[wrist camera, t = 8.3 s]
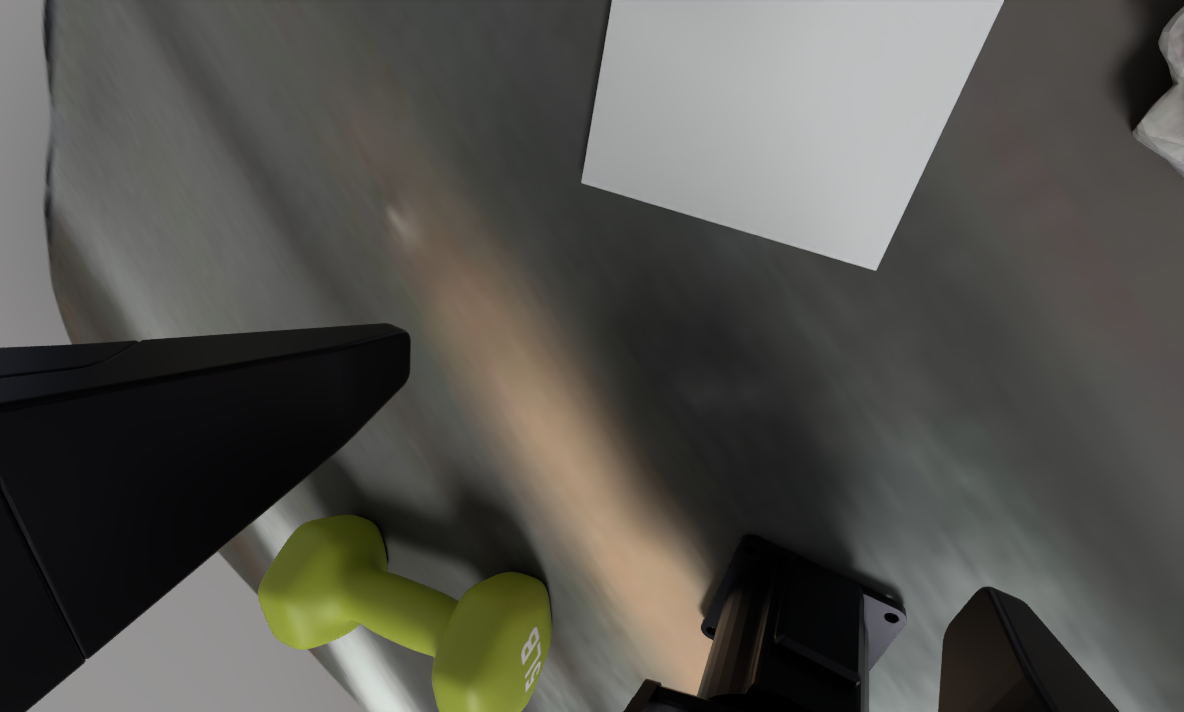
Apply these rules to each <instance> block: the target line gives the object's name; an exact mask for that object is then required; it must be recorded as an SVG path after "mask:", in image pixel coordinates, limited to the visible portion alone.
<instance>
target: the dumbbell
mask: <svg viewBox="0 0 1184 712" xmlns="http://www.w3.org/2000/svg"><path fill="white" fill-rule="evenodd" d="M387 569H388V565H387V556H386V551H385V546H384V543H383V539H382V537H381V534H380V531H379V529H378V528H377V526H376V525H375V524H374V523H373V522H371V521H370V520H367V519H365V518H362V517H359V516H356V515H338V516H331V517H326V518H321V519H316V520H312V521H309V522H306V523H304V524H303V525H301V526H299V527H298V528H297V529H296V530H295V531H294V533H293V534H292V535H291V536H290V537H289V539H288V540H287V542H286V543H285V544H284V546H283V547H282V549H281V550H280V552H279V553H278V555H277V556H276V558H275V559H274V561H273V562H272V564H271V565H270V567H269V569H268V570H267V572H266V573H265V575H264V577H263V579H262V581H261V583H260V586H259V589H258V598H259V602H260V605H261V609H262V611H263V613H264V616H265V618H266V621H267V623H268V625H269V627H270V629H271V631H272V633H273V635H274V636H275V637H276V638H277V639H278V640H279V641H280V642H282V643H284V644H286V645H288V646H290V647H292V648H294V649H302V650H303V649H309V648H314V647H317V646H320V645H323V644H326V643H329V642H331V641H333V640H336V639H338V638H340V637H342V636H344V635H346V634H347V633H349V632H351V631H352V630H354V629H355V628H356V627H357V626H358V625H359V624H362V625H363V626H365V627H367V628H368V629H370V630H371V631H373V632H375V633H377V634H379V635H381V636H383V637H385V638H387V639H389V640H391V641H394V642H396V643H398V644H400V645H403V646H405V647H407V648H410V649H412V650H415V651H418V652H421V653H424V654H428V655H431V656H433V657H435V659H434V663H433V669H432V684H433V690H434V695H435V699H436V703H437V706H438V710H439V712H521V711H522V710H523V709H524V707H525V706H526V704H527V703H528V701H529V699H530V697H531V695H532V693H533V691H534V689H535V686H536V684H537V681H538V678H539V676H540V673H541V670H542V668H543V665H544V662H545V659H546V656H547V653H548V650H549V646H550V642H551V636H552V621H551V612H550V602H549V596H548V592H547V590H546V587H545V586H544V584H543V583H542V582H541V581H540V580H538V579H536V578H534V577H531V576H528V575H525V574H522V573H518V572H504V573H501V574H498V575H495V576H493V577H490V578H488V579H486V580H484V581H482V582H480V583H478V584H476V585H474V586H473V587H471V588H470V589H468V590H467V591H466V592H465V594H464V595H463V596H462V598H461V599H460V601H458V600H456V599H454V598H452V597H450V596H448V595H447V594H445V593H442V592H440V591H437V590H435V589H432V588H430V587H428V586H425V585H423V584H420V583H418V582H415V581H413V580H410V579H407V578H404V577H402V576H399V575H396V574H393V573H389V572H387Z"/></svg>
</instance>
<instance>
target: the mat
mask: <svg viewBox="0 0 1184 712" xmlns="http://www.w3.org/2000/svg"><path fill="white" fill-rule="evenodd" d="M1003 2H1004V0H612V4H611V10H610V16H609V22H608V28H607V34H606V40H605V46H604V52H603V58H602V63H601V69H600V75H599V81H598V87H597V93H596V99H595V105H594V111H593V117H592V123H591V129H590V134H589V140H588V146H587V152H586V158H585V164H584V170H583V176H582V182H581V183H583V184H586V185H590V186H593V187H596V188H600V189H603V190H606V191H610V192H613V193H617V194H620V195H623V196H627V197H630V198H633V199H637V200H640V201H643V202H647V203H650V204H653V205H657V206H660V207H663V208H667V209H670V210H674V211H677V212H680V213H684V214H687V215H690V216H694V217H697V218H700V219H704V220H707V221H710V222H714V223H717V224H721V225H724V226H727V227H731V228H734V229H737V230H741V231H744V232H747V233H751V234H754V235H757V236H761V237H764V238H768V239H771V240H774V241H778V242H781V243H784V244H788V245H791V246H794V247H798V248H801V249H804V250H808V251H811V252H815V253H818V254H821V255H825V256H828V257H831V258H835V259H838V260H841V261H845V262H848V263H851V264H855V265H858V266H861V267H865V268H868V269H872V270H875V271H876V270H877V267H878V265H879V263H880V261H881V259H882V257H883V255H884V253H885V251H886V248H887V246H888V244H889V242H890V240H891V238H892V236H893V234H894V232H895V230H896V227H897V225H898V223H899V221H900V219H901V217H902V215H903V213H904V211H905V208H906V206H907V204H908V202H909V200H910V198H911V196H912V194H913V192H914V189H915V187H916V185H917V183H918V181H919V179H920V177H921V175H922V173H923V170H924V168H925V166H926V164H927V162H928V160H929V158H930V156H931V154H932V151H933V149H934V147H935V145H936V143H937V141H938V139H939V137H940V135H941V132H942V130H943V128H944V126H945V124H946V122H947V120H948V118H949V116H950V113H951V111H952V109H953V107H954V105H955V103H956V101H957V99H958V97H959V95H960V92H961V90H962V88H963V86H964V84H965V82H966V80H967V78H968V76H969V73H970V71H971V69H972V67H973V65H974V63H975V61H976V59H977V57H978V54H979V52H980V50H981V48H982V46H983V44H984V42H985V40H986V38H987V35H988V33H989V31H990V29H991V27H992V25H993V23H994V21H995V19H996V16H997V14H998V12H999V10H1000V8H1001V6H1002V4H1003Z"/></svg>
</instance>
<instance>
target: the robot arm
mask: <svg viewBox="0 0 1184 712" xmlns="http://www.w3.org/2000/svg"><path fill="white" fill-rule="evenodd" d="M410 354H411V339H410V336H409V333H408V332H407V331H405V330H403V329H401V328H399V327H396V326H394V325H392V324H388V323H380V324H366V325H351V326H337V327H323V328H308V329H294V330H280V331H265V332H251V333H236V334H222V335H208V336H193V337H179V338H165V339H150V340H142V341H140V342H138V341H120V342H106V343H89V344H72V345H55V346H31V347H8V348H0V712H26V711H27V710H29V709H30V708H31V707H32V706H33V705H35V704H36V703H37V702H38V701H39V700H41V699H42V698H43V697H44V696H45V695H47V694H48V693H49V692H50V691H51V690H52V689H54V688H55V687H56V686H57V685H59V684H60V683H61V682H62V681H63V680H65V679H66V678H67V677H68V676H69V675H71V674H72V673H73V672H74V671H75V670H77V669H78V668H79V667H80V666H81V665H82V664H84V663H85V659H89V658H90V657H91V656H92V655H94V654H95V653H96V652H97V651H99V650H100V649H101V648H102V647H103V646H105V645H106V644H107V643H108V642H109V641H111V640H112V639H113V638H114V637H115V636H116V635H118V634H119V633H120V632H121V631H123V630H124V629H125V628H126V627H127V626H129V625H130V624H131V623H132V622H133V621H135V620H136V619H137V618H138V617H139V616H141V615H142V614H143V613H144V612H145V611H147V610H148V609H149V608H150V607H151V606H153V605H154V604H155V603H156V602H157V601H159V600H160V599H161V598H162V597H163V596H165V595H166V594H167V593H168V592H169V591H171V590H172V589H173V588H174V587H175V586H176V585H178V584H179V583H180V582H181V581H183V580H184V579H185V578H186V577H187V576H189V575H190V574H191V573H192V572H193V571H195V570H196V569H197V568H198V567H199V566H200V565H202V564H203V563H204V562H205V561H207V560H208V559H209V558H210V557H211V556H213V555H214V554H215V553H216V552H217V551H219V550H220V549H221V548H222V547H223V546H225V545H226V544H227V543H228V542H229V541H231V540H232V539H233V538H234V537H235V536H237V535H238V534H239V533H240V532H241V531H243V530H244V529H245V528H246V527H247V526H249V525H250V524H251V523H252V522H253V521H255V520H256V519H257V518H258V517H259V516H261V515H262V514H263V513H264V512H265V511H267V510H268V509H269V508H270V507H271V506H273V505H274V504H275V503H276V502H277V501H279V500H280V499H281V498H282V497H283V496H285V495H286V494H287V493H288V492H289V491H291V490H292V489H293V488H294V487H295V486H297V485H298V484H299V483H300V482H301V481H303V480H304V479H305V478H306V477H307V476H309V475H310V474H311V473H312V472H313V471H315V470H316V469H317V468H318V467H319V466H321V465H322V464H323V463H324V462H325V461H327V460H328V459H329V458H330V457H331V456H333V455H334V454H335V453H336V452H337V451H338V450H339V449H341V448H342V447H343V446H344V445H345V444H346V443H347V442H348V441H349V440H350V439H351V438H353V437H354V436H355V435H356V434H357V433H358V432H359V431H360V430H361V429H362V428H363V427H364V426H365V425H366V424H367V422H368V421H369V420H370V419H371V418H372V417H373V416H374V415H375V414H376V413H377V412H378V411H379V410H380V409H381V408H382V407H383V406H384V405H385V404H386V403H387V402H388V401H389V400H390V399H391V398H392V397H393V396H394V395H395V394H396V393H397V392H398V391H399V390H400V389H401V388H402V387H403V386H404V385H405V383H406V382H407V380H408V378H409V375H410ZM748 546H753V547H754V548H755V549H751V548H749V547H748ZM887 613H894V614H896V615H890V614H887ZM906 622H907V617H906V610H905V608H904V607H903V605H901V604H900V603H898V602H897V601H894V600H892V599H890V598H888V597H886V596H884V595H882V594H879V593H877V592H875V591H873V590H871V589H869V588H867V587H865V586H862V585H860V584H858V583H856V582H854V581H852V580H850V579H847V578H845V577H843V576H841V575H839V574H837V573H835V572H832V571H830V570H828V569H826V568H824V567H822V566H820V565H817V564H815V563H813V562H811V561H809V560H807V559H805V558H802V557H800V556H798V555H796V554H794V553H792V552H790V551H787V550H785V549H783V548H781V547H779V546H777V545H775V544H772V543H770V542H768V541H766V540H764V539H762V538H760V537H757V536H755V535H752V534H747V535H744V536H742V538H741V539H740V541H739V543H738V545H737V548H736V550H735V552H734V554H733V556H732V558H731V561H730V563H729V565H728V567H727V569H726V571H725V573H724V576H723V578H722V580H721V582H720V584H719V586H718V589H717V591H716V593H715V595H714V597H713V599H712V602H711V604H710V606H709V608H708V610H707V612H706V615H705V617H704V619H703V622H702V625H701V630H702V632H703V634H704V635H705V636H707V637H708V638H710V639H712V640H713V643H712V646H711V650H710V653H709V657H708V660H707V663H706V667H705V670H704V674H703V677H702V680H701V684H700V687H699V691H698V694H697V696H695V695H691V694H688V693H684V692H681V691H677V690H674V689H671V688H667V687H664V686H661V683H660V682H656V681H653V680H649V679H645V681H644V682H643V684H642V685H641V687H640V688H639V690H638V691H637V693H636V694H635V696H634V697H633V698H632V700H631V701H630V703H629V704H628V706H627V707H626V709H625V710H624V712H869V671H870V670H871V669H872V667H873V666H874V665H875V663H876V662H877V661H878V660H879V658H880V657H881V656H882V654H883V653H884V652H885V650H886V649H887V648H888V647H889V645H890V644H891V643H892V641H893V640H894V639H895V637H896V636H897V635H898V634H899V632H900V631H901V630H902V628H903V627H904V626H905V624H906ZM938 712H1119V711H1118V709H1117V708H1116V707H1115V706H1114V705H1113V704H1112V702H1111V701H1110V700H1109V699H1108V698H1107V697H1106V695H1105V694H1104V693H1103V692H1102V691H1101V690H1100V688H1099V687H1098V686H1097V685H1096V684H1095V683H1094V681H1093V680H1092V679H1091V678H1090V677H1089V676H1088V674H1087V673H1086V672H1085V671H1084V670H1083V669H1082V668H1081V666H1080V665H1079V664H1078V663H1077V662H1076V661H1075V659H1074V658H1073V657H1072V656H1071V655H1070V654H1069V652H1068V651H1067V650H1066V649H1065V648H1064V647H1063V645H1062V644H1061V643H1060V642H1059V641H1058V640H1057V638H1056V637H1055V636H1054V635H1053V634H1052V633H1051V631H1050V630H1049V629H1048V628H1047V627H1046V626H1045V625H1044V623H1043V622H1042V621H1041V620H1040V619H1039V618H1038V616H1037V615H1036V614H1035V613H1034V612H1033V611H1032V609H1031V608H1030V607H1029V606H1028V605H1027V604H1026V603H1025V602H1023V601H1022V600H1020V599H1018V598H1016V597H1013V596H1011V595H1009V594H1007V593H1004V592H1002V591H1000V590H997V589H995V588H993V587H982V588H981V589H979V590H978V591H977V592H976V593H975V594H974V595H973V596H972V597H971V599H970V600H969V601H968V602H967V603H966V605H965V606H964V607H963V608H962V609H961V611H960V612H959V613H958V614H957V615H956V617H955V618H954V619H953V620H952V621H951V623H950V624H949V626H948V627H947V629H946V632H945V635H944V639H943V650H942V664H941V679H940V694H939V709H938Z"/></svg>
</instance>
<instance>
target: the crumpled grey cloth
mask: <svg viewBox="0 0 1184 712" xmlns="http://www.w3.org/2000/svg"><path fill="white" fill-rule="evenodd" d="M1158 45H1159V48H1160V50H1161V52H1162V54H1163V56H1164V58H1165V60H1166V61H1167V63H1168V66H1169V70H1170V74H1171V78H1172V82H1173V86H1172V87H1171V88H1170V89H1169V90H1168V91H1167V92H1166V93H1165V94H1164V95H1163V96H1162V97H1161V98H1160V99H1159V100H1157V101H1156V102H1155V103H1154V104H1153V105H1152V106H1151V108H1150V109H1149V110H1148V112H1147V113H1146V115H1145V116H1144V117H1143V119H1142V120H1141V121H1140V123H1139V124H1138V125H1137V126H1136V128H1135V129H1134V131H1133V132H1132V133H1133V136H1134V137H1135V139H1136V140H1138V141H1139V142H1141V143H1142V144H1144V145H1145V146H1147V147H1148V148H1150V149H1151V150H1153V151H1154V152H1156V153H1157V154H1159V155H1160V156H1162V157H1163V158H1165V159H1166V160H1167V161H1168V162H1169V163H1170V164H1171V165H1172V166H1173V167H1174V168H1175V169H1176V171H1177V172H1178V173H1179V174H1180V175H1181V176H1182V177H1183V178H1184V6H1183V7H1182V8H1181V9H1180V10H1179V11H1178V12H1177V13H1176V14H1175V15H1174V16H1173V17H1172V18H1171V19H1170V21H1169V22H1168V23H1167V24H1166V26H1165V27H1164V29H1163V31H1162V34H1161V36H1160V39H1159V41H1158Z"/></svg>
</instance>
